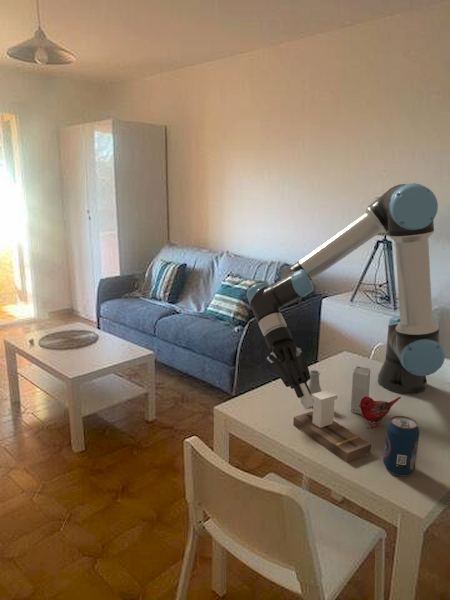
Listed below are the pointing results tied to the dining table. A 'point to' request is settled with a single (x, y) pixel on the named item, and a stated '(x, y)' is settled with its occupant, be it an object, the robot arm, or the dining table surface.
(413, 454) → the soda can
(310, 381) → the flask
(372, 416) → the decorative bird figurine
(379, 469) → the dining table surface
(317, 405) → the fader knob
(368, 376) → the skincare box
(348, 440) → the fader board
